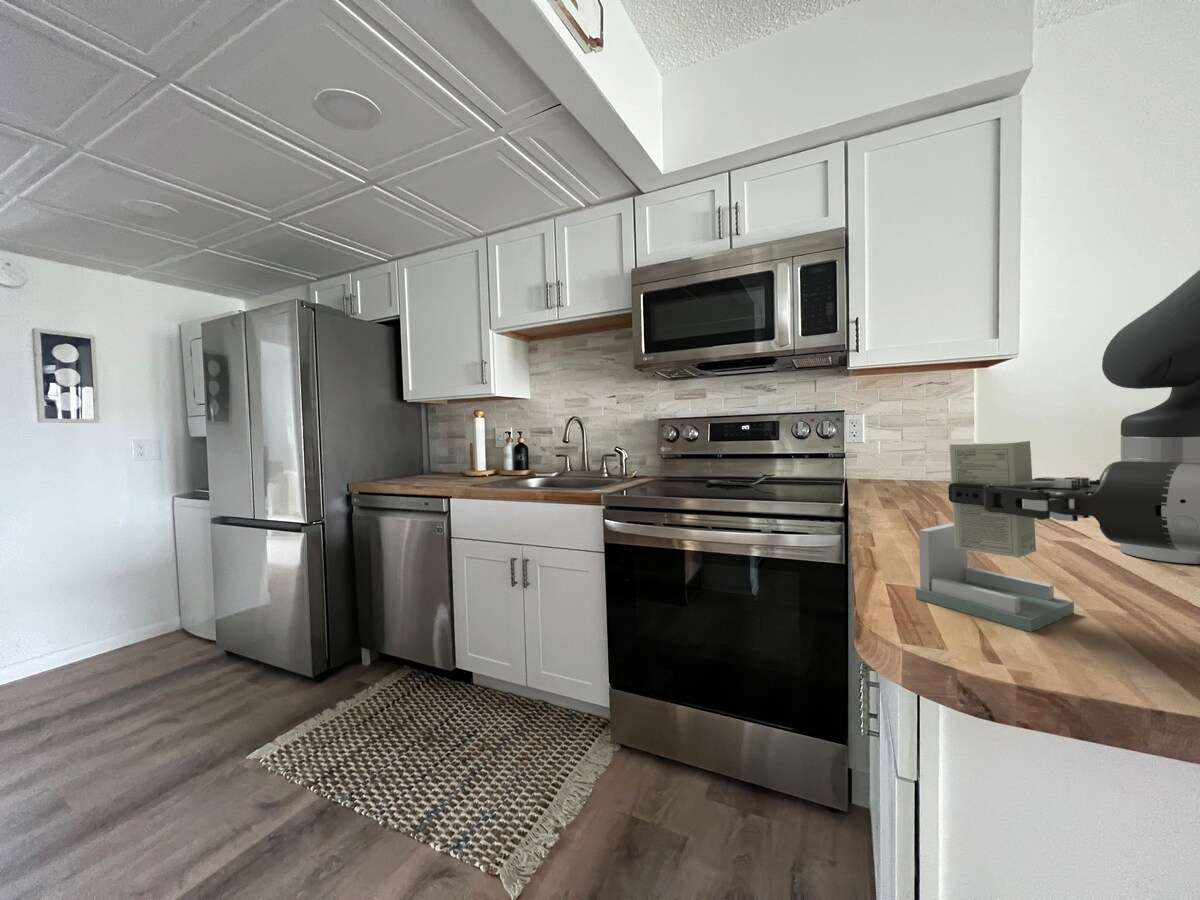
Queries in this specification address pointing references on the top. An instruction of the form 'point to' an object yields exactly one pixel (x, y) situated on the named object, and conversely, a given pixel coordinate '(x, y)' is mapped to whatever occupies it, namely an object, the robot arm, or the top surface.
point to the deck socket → (982, 586)
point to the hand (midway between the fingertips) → (963, 490)
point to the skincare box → (1001, 468)
